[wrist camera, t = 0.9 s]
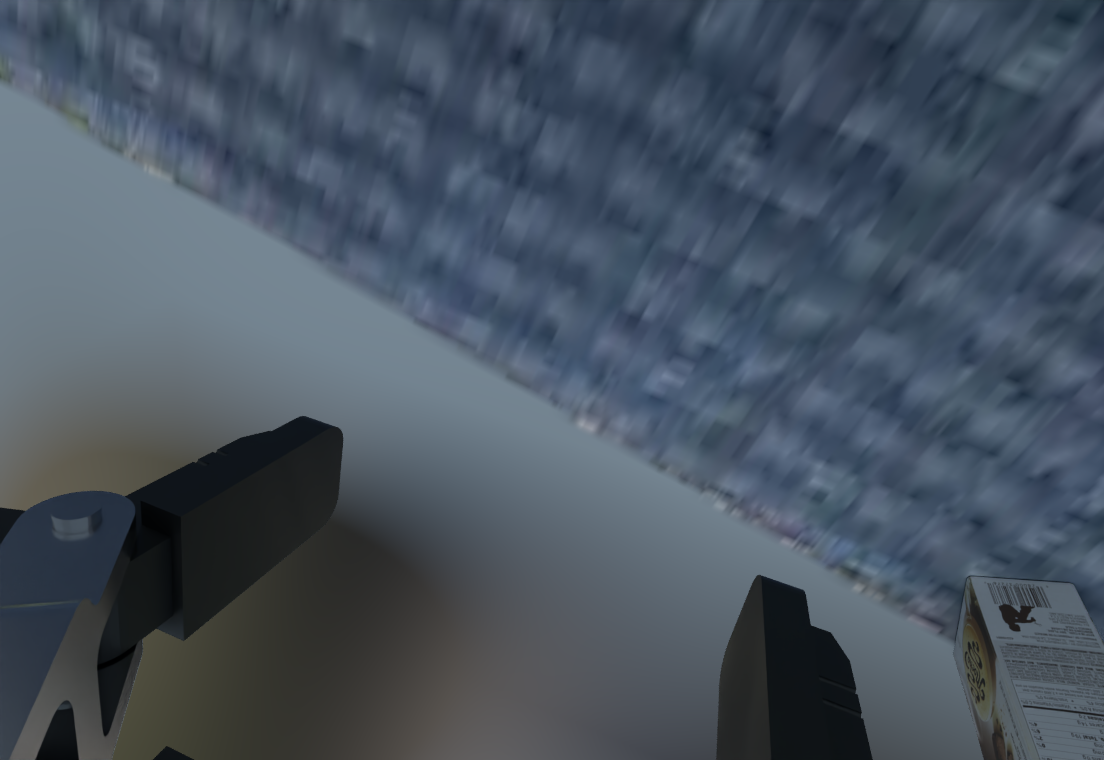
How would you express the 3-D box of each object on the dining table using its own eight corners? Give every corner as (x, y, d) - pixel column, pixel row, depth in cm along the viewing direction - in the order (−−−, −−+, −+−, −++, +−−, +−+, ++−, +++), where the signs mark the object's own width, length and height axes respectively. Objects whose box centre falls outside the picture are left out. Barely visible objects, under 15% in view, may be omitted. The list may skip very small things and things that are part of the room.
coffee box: (1050, 662, 45) (1167, 940, 32) (950, 652, 47) (1021, 908, 34) (1078, 580, 40) (1225, 865, 28) (964, 573, 43) (1053, 834, 30)
